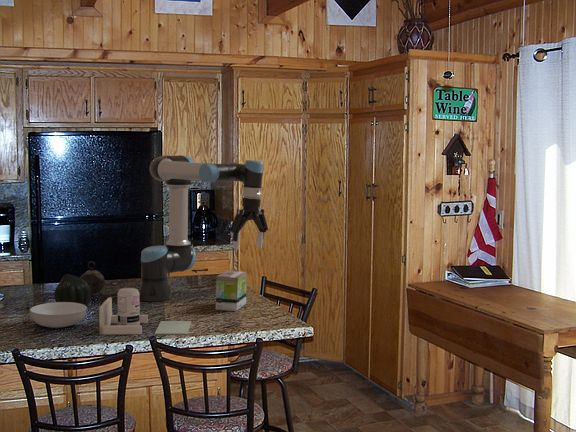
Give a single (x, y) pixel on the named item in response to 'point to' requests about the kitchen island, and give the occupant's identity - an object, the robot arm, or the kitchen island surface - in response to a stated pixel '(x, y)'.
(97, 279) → the alarm clock
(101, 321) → the open box
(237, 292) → the tea box
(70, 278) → the squash
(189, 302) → the kitchen island surface
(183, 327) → the sage mat
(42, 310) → the serving bowl
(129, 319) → the supplement can
